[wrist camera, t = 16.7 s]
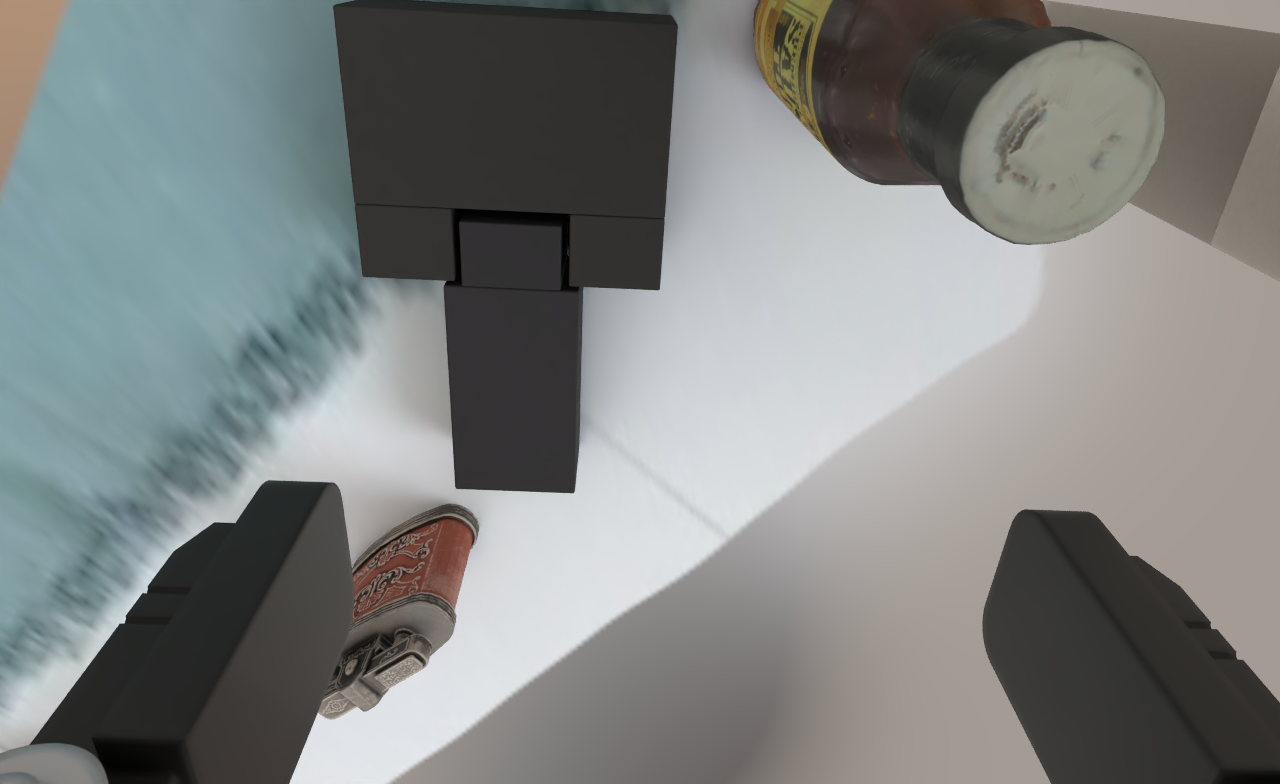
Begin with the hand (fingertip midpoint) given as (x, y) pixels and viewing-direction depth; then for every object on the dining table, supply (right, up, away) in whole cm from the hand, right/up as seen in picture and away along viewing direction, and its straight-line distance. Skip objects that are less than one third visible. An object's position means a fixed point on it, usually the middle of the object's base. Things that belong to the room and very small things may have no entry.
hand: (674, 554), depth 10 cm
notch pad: (-5, +13, +25) cm, 29 cm away
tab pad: (-6, +5, +29) cm, 30 cm away
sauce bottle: (+7, +16, +23) cm, 29 cm away
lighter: (-13, -6, +35) cm, 38 cm away
